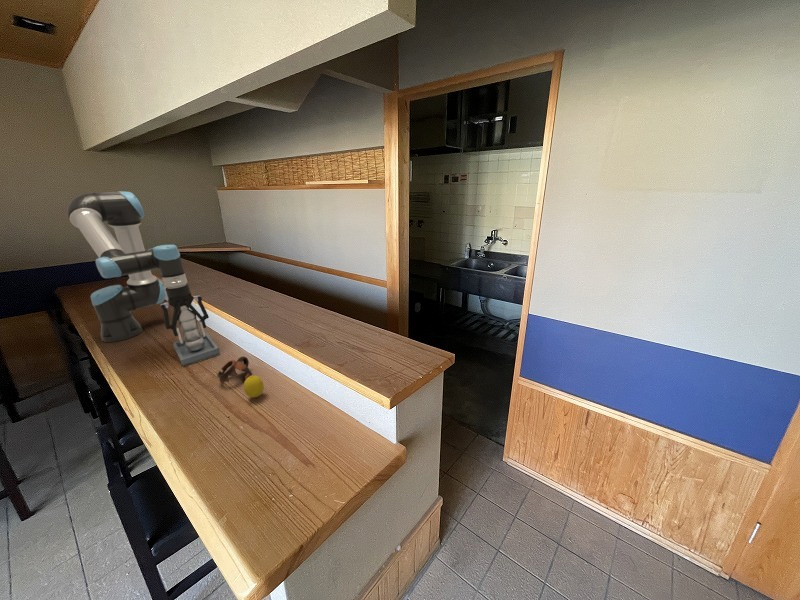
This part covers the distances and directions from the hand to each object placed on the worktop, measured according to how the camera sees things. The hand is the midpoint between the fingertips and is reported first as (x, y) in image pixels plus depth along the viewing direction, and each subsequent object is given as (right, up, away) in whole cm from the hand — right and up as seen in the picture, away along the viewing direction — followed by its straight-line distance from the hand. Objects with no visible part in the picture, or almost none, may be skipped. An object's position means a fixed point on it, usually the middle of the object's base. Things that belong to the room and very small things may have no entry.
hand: (193, 338), depth 131 cm
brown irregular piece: (+28, -12, -18) cm, 35 cm away
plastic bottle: (0, -5, +2) cm, 5 cm away
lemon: (+39, -15, -29) cm, 51 cm away
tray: (0, -6, +2) cm, 6 cm away
